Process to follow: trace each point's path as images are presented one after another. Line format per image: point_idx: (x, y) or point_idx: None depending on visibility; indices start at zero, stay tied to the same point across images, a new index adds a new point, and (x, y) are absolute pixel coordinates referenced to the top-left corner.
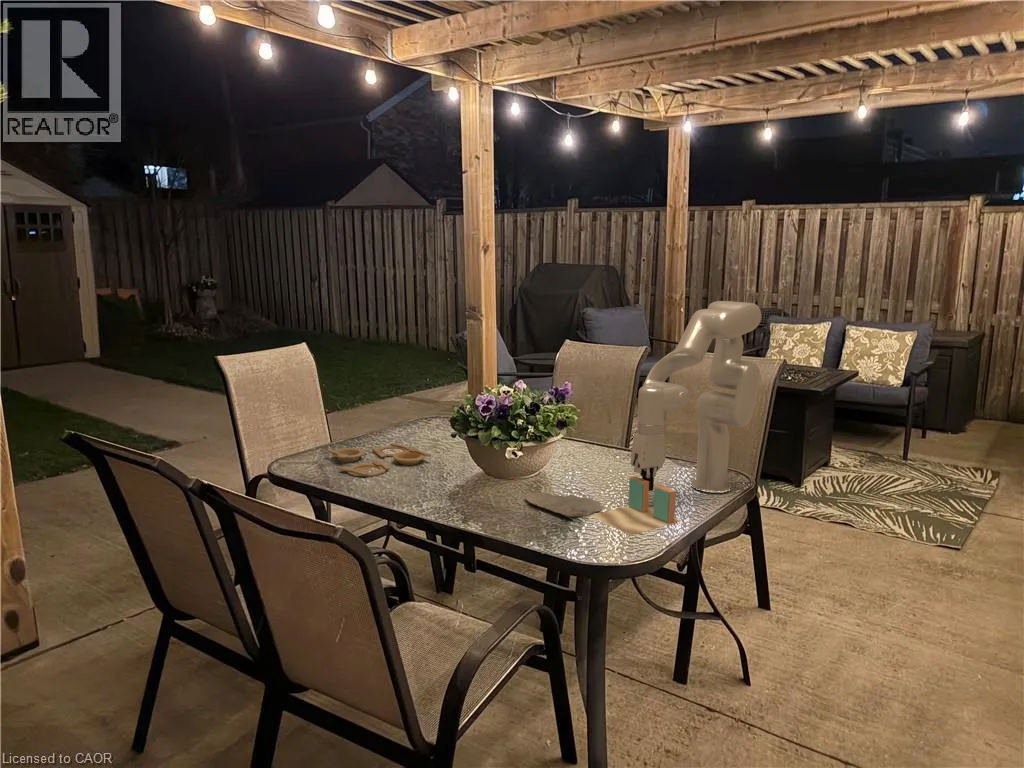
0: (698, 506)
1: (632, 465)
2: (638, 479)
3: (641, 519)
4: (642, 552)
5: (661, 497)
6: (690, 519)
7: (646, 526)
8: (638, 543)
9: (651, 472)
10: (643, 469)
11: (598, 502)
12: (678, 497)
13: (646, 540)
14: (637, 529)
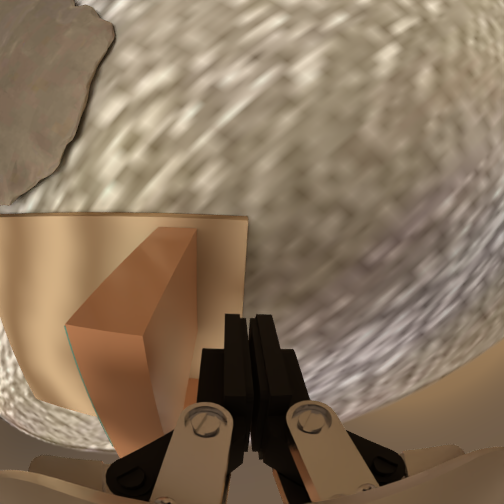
0: (422, 350)
1: (14, 478)
2: (119, 412)
3: None
4: (42, 428)
5: None
6: None
7: None
8: (47, 410)
9: (292, 473)
10: (206, 488)
11: (69, 95)
12: (463, 248)
13: (70, 416)
14: (61, 393)
